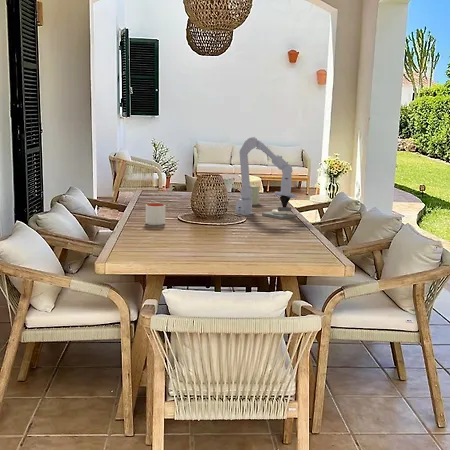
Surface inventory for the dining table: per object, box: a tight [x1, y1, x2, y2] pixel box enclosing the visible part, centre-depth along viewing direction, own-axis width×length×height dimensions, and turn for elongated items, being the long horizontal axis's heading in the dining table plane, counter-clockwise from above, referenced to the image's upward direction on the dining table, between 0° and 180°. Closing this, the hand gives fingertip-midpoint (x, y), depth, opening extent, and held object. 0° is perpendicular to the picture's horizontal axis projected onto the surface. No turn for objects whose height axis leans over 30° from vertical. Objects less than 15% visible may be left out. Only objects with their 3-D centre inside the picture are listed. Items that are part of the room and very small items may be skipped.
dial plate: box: [261, 210, 297, 220], centre depth 349 cm, size 14×14×2 cm
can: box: [250, 184, 260, 206], centre depth 389 cm, size 9×9×12 cm
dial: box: [271, 206, 292, 215], centre depth 348 cm, size 11×9×4 cm
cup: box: [145, 202, 166, 226], centre depth 310 cm, size 10×10×10 cm
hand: (284, 208), depth 350 cm, fingers closed, pressing on dial
